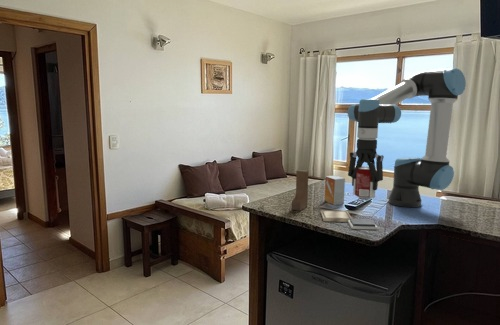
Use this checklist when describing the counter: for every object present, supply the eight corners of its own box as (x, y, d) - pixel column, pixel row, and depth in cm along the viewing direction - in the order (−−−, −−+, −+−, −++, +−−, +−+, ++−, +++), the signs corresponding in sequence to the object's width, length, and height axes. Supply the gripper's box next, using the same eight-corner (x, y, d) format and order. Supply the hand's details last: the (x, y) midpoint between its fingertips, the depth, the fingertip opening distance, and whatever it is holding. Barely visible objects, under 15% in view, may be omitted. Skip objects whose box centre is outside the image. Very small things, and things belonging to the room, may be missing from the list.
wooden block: (300, 211, 165) (301, 173, 162) (291, 209, 167) (292, 172, 164) (307, 206, 172) (308, 170, 169) (299, 205, 175) (299, 169, 172)
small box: (324, 201, 182) (325, 176, 180) (334, 199, 185) (335, 175, 183) (333, 205, 175) (334, 179, 173) (344, 203, 178) (345, 178, 175)
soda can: (370, 200, 139) (372, 169, 137) (352, 197, 142) (354, 168, 140) (374, 196, 144) (376, 167, 142) (357, 194, 148) (359, 165, 146)
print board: (347, 213, 162) (347, 210, 161) (352, 222, 150) (352, 218, 150) (320, 212, 163) (320, 209, 162) (323, 221, 151) (323, 218, 150)
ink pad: (372, 222, 149) (372, 218, 148) (377, 229, 141) (377, 225, 141) (347, 222, 149) (348, 218, 149) (351, 228, 142) (352, 224, 141)
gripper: (340, 137, 144) (337, 192, 148) (385, 141, 130) (381, 202, 133) (351, 136, 149) (348, 190, 153) (395, 140, 134) (391, 199, 138)
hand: (363, 195), depth 143 cm, fingers closed on soda can, 7 cm apart
